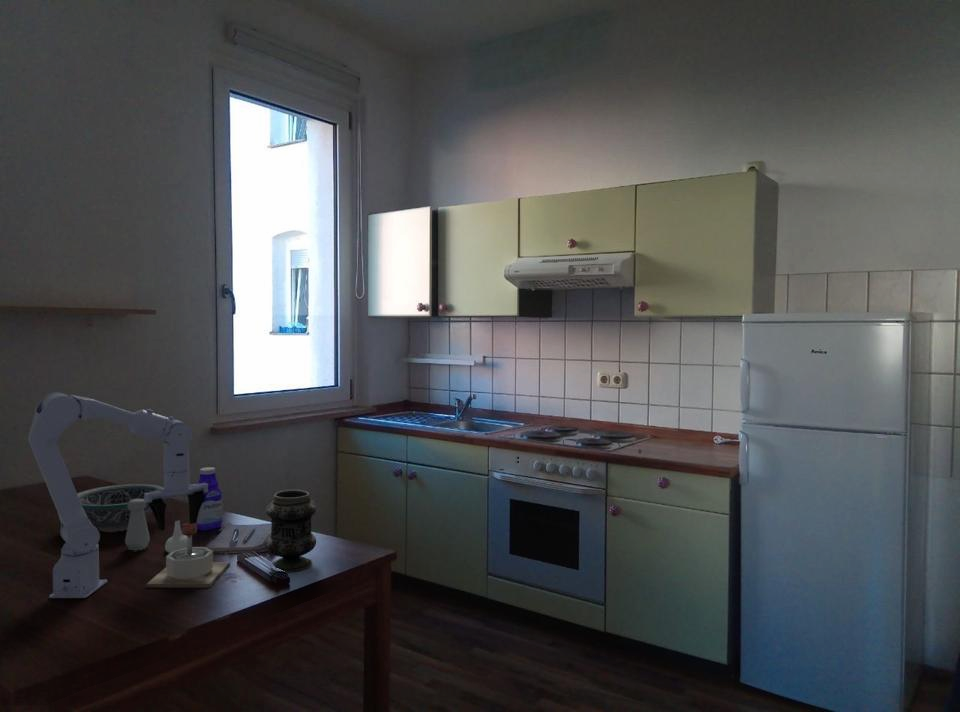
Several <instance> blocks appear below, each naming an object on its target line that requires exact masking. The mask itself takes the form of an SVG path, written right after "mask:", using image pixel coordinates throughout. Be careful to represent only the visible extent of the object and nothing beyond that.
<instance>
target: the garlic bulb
mask: <svg viewBox="0 0 960 712" xmlns="http://www.w3.org/2000/svg"><path fill="white" fill-rule="evenodd" d="M183 548H187V535H183V534H182V526H181V521H180V520H175V523H174V527H173V534H172V536H171V537H169V538H168V539H167V540H166V542H165V544H164V549H165V551H166V552H167V553H168V554H170V553H171V552H172V551H175V550H179V549H183Z"/></svg>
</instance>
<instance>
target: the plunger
mask: <svg viewBox="0 0 960 712" xmlns="http://www.w3.org/2000/svg"><path fill="white" fill-rule="evenodd" d="M181 532H182V534H183V535H185V536H187V550H184V551H180V552H178V553H176V554H175V559H194V558H198V557H202V556H204V551H203V550H200V549H192V547H193V535H195V534H197V532H198V529H197V523H194V522H190V521H189V522H185V523H182V524H181Z"/></svg>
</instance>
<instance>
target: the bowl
mask: <svg viewBox="0 0 960 712" xmlns="http://www.w3.org/2000/svg"><path fill="white" fill-rule="evenodd" d="M163 488H164V486H163V487H162V486H161V485H156V484H155V485H154V484H146V483H143V484H142V483H130V484H129V483H127V484H116V485H107V486H100V487H95V488H91V489H90V488H89V489H87V490H83V491H80V492H76V493H77V495H78V498H79V500H80V503H81V505H82V507H83V509H84V511H85V513H86V515H87V517H88V519H89V520H90V522H91V524H92V525H93V526H95V527H97V529H99V530H100V531H99V530H98V531H99V532H102V531H103V532H102V533H118V532H117V531H121V532H125V531H124V530H127V528H128V523H129V518H130V512H131V510H129V509H128V502H129V501H130V500H133V499H144V493H148V492H152V491H156V490H159V489H163ZM144 513H145V518H146V519H147V518H148V517H149V516H150V515H151V514H152V513H153V512H152V510H151V508H150V506H149V505H148V503H147V502H146V507H145V508H144Z"/></svg>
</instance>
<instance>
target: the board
mask: <svg viewBox="0 0 960 712" xmlns="http://www.w3.org/2000/svg"><path fill="white" fill-rule="evenodd" d="M230 565H231V562H230V561H213V568H212V569H211V572H210V573H209V574H207V575H205V576H202V577H199V578H195V579H188V580H177V579H172V578H170V577H169V575H168V574H166V567H165V568H164V569H162V570H161V571H160V572H158V574H156V575H155V576H154V577H153V578H151V579H150V580H149V581H148V582H147V583H146V588H211V586H212V585H214V583H215V582H216V581H217V580H218V579H219V578H220V577H221V575H222V574H224V572H226V570H227V569H228V568H229V567H230Z"/></svg>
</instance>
